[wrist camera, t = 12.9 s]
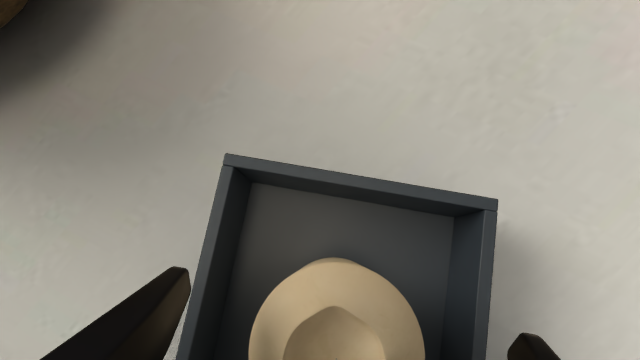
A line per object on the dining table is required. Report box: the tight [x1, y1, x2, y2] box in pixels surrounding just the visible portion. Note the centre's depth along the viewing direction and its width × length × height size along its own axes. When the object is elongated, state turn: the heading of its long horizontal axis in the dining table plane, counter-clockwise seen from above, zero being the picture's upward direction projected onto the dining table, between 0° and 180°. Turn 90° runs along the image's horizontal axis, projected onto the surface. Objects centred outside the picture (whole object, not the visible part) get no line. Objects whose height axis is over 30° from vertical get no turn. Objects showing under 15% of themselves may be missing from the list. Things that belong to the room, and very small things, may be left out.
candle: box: [249, 257, 425, 360], centre depth 14 cm, size 6×6×10 cm
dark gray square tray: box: [175, 153, 498, 360], centre depth 17 cm, size 13×13×4 cm
